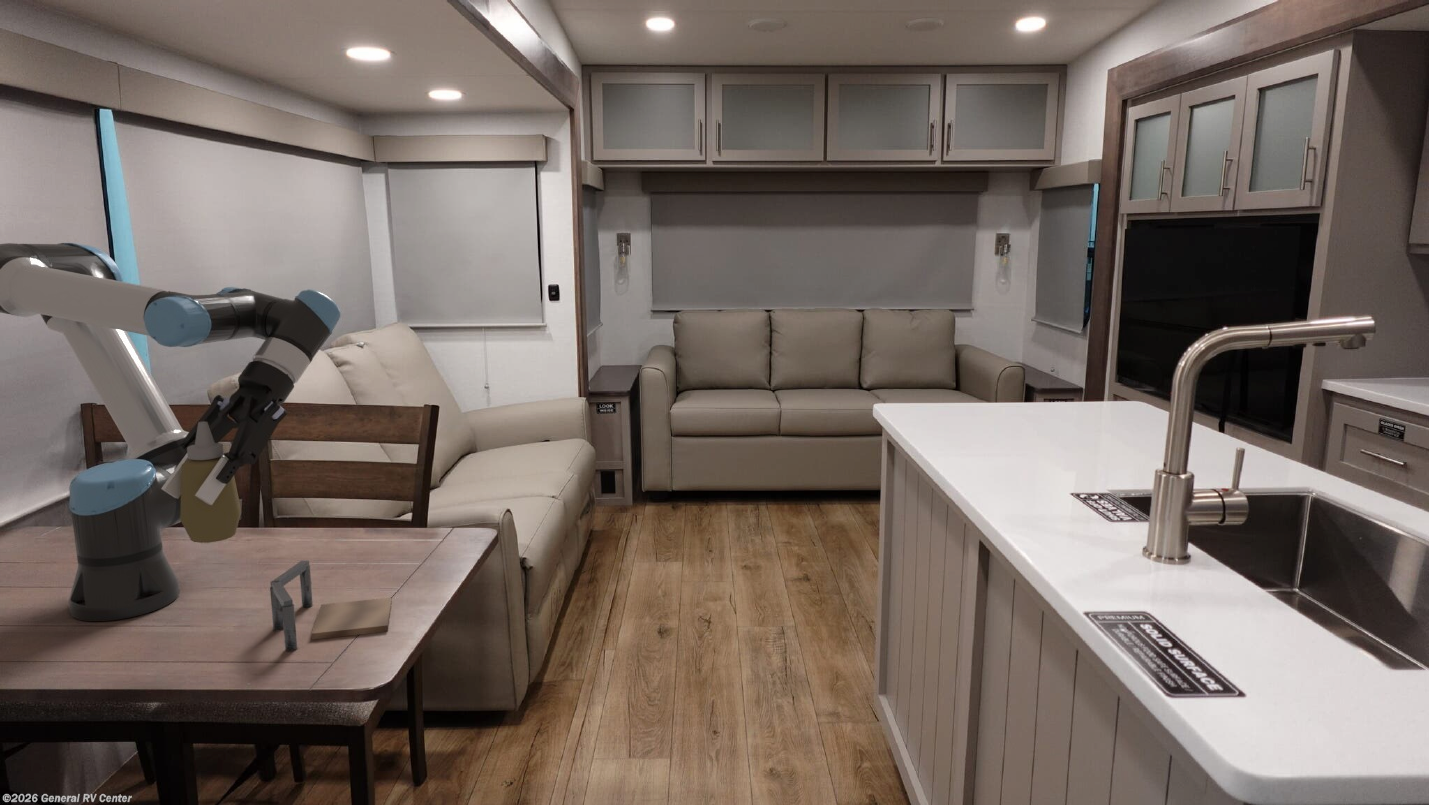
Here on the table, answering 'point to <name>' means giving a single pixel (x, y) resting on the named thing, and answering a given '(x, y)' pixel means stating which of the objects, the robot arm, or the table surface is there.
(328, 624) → the pad
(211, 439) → the squeeze bottle
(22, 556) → the table surface
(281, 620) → the gray angled arch frame
